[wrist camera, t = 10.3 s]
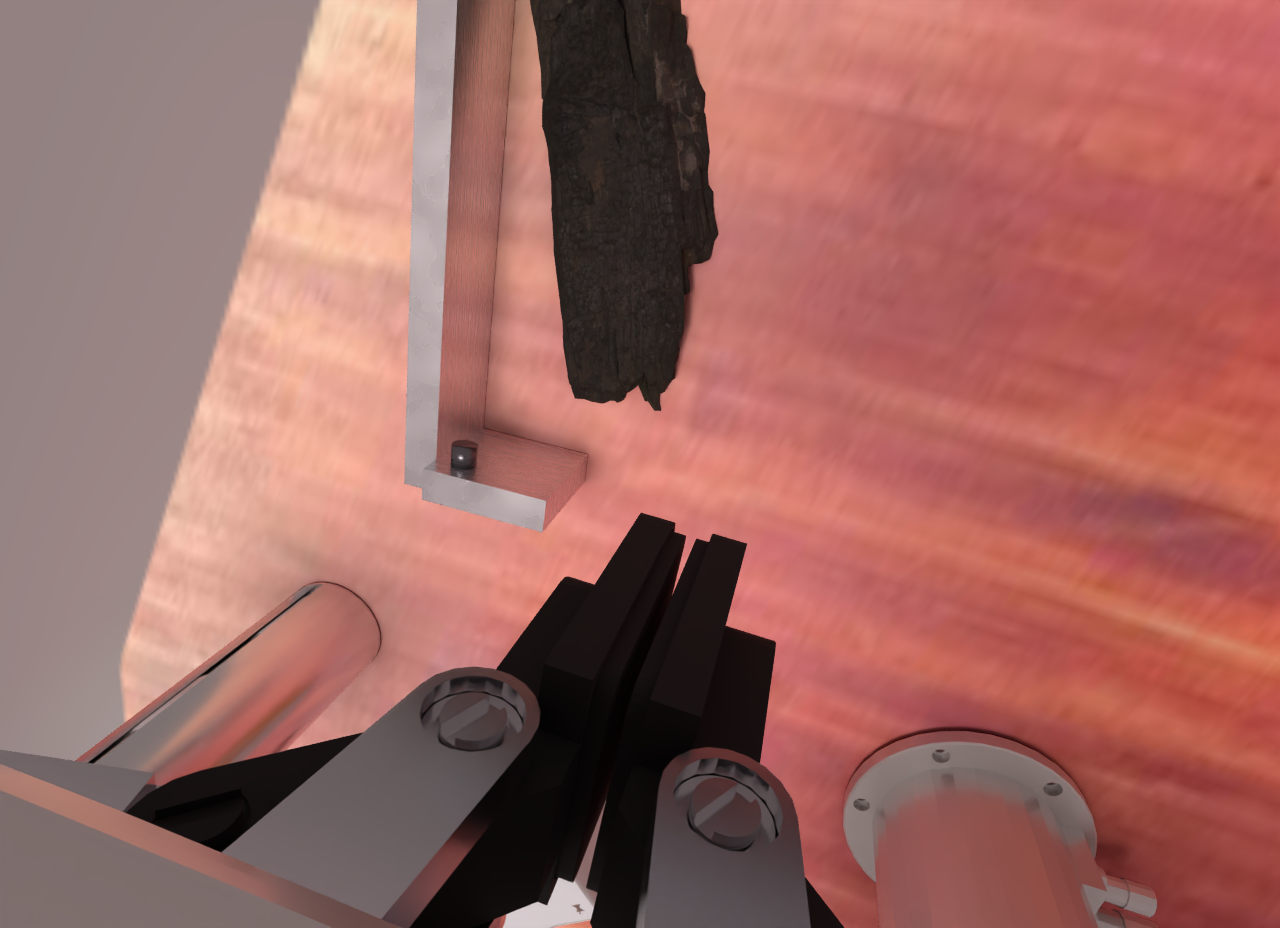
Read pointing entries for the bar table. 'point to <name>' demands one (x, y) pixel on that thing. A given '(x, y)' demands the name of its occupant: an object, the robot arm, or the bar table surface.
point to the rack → (465, 277)
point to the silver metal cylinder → (251, 689)
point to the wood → (623, 186)
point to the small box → (562, 899)
